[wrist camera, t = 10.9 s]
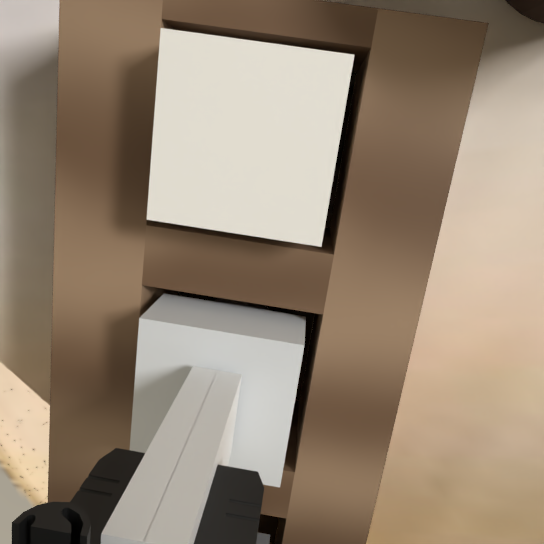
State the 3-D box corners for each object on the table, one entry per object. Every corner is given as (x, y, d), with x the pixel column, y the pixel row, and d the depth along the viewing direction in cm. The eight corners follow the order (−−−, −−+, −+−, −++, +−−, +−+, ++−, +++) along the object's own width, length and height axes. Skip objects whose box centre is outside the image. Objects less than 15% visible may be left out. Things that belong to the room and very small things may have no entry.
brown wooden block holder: (126, 11, 19) (60, -34, 14) (442, 54, 18) (488, 23, 13) (97, 527, 25) (45, 618, 20) (330, 570, 24) (334, 675, 20)
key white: (203, 59, 17) (160, 27, 13) (343, 79, 17) (354, 54, 12) (190, 199, 19) (146, 219, 14) (319, 220, 18) (321, 247, 14)
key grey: (182, 274, 19) (139, 318, 15) (307, 294, 19) (304, 345, 14) (171, 387, 21) (128, 460, 16) (288, 406, 21) (280, 487, 16)
